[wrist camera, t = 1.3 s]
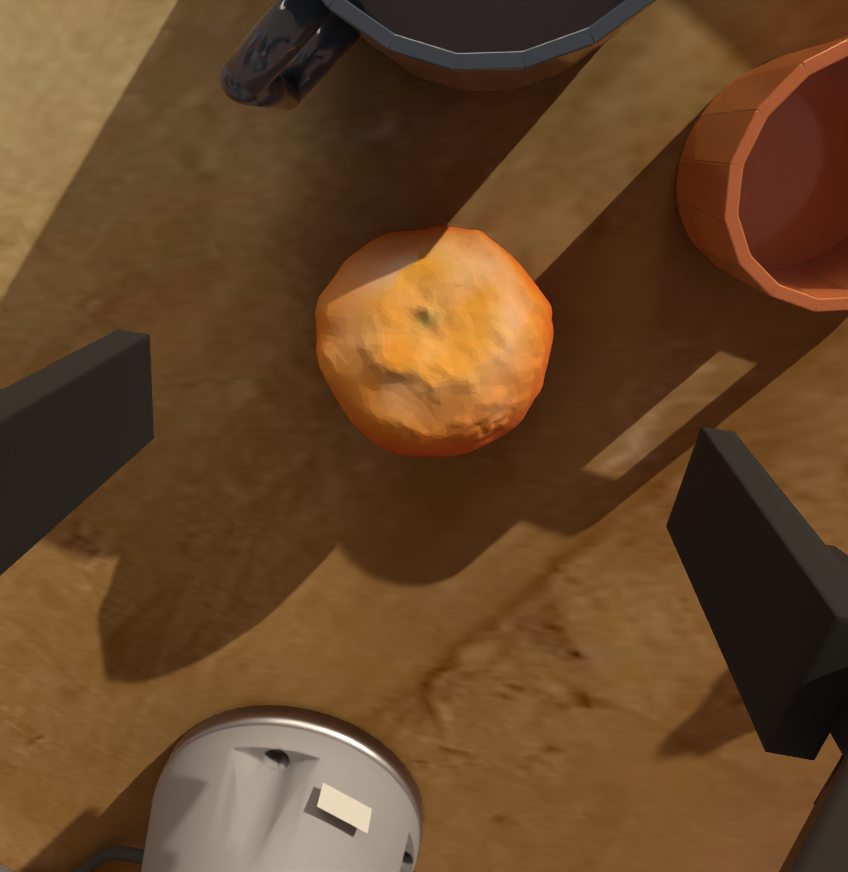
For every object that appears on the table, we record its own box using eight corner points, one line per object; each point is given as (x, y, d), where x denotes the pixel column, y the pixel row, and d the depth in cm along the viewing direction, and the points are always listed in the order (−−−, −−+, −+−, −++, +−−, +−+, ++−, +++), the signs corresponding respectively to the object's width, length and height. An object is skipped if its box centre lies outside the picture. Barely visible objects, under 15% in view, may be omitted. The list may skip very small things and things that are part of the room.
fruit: (327, 455, 28) (281, 431, 20) (353, 275, 29) (317, 182, 21) (520, 478, 27) (551, 463, 19) (539, 294, 28) (576, 208, 20)
